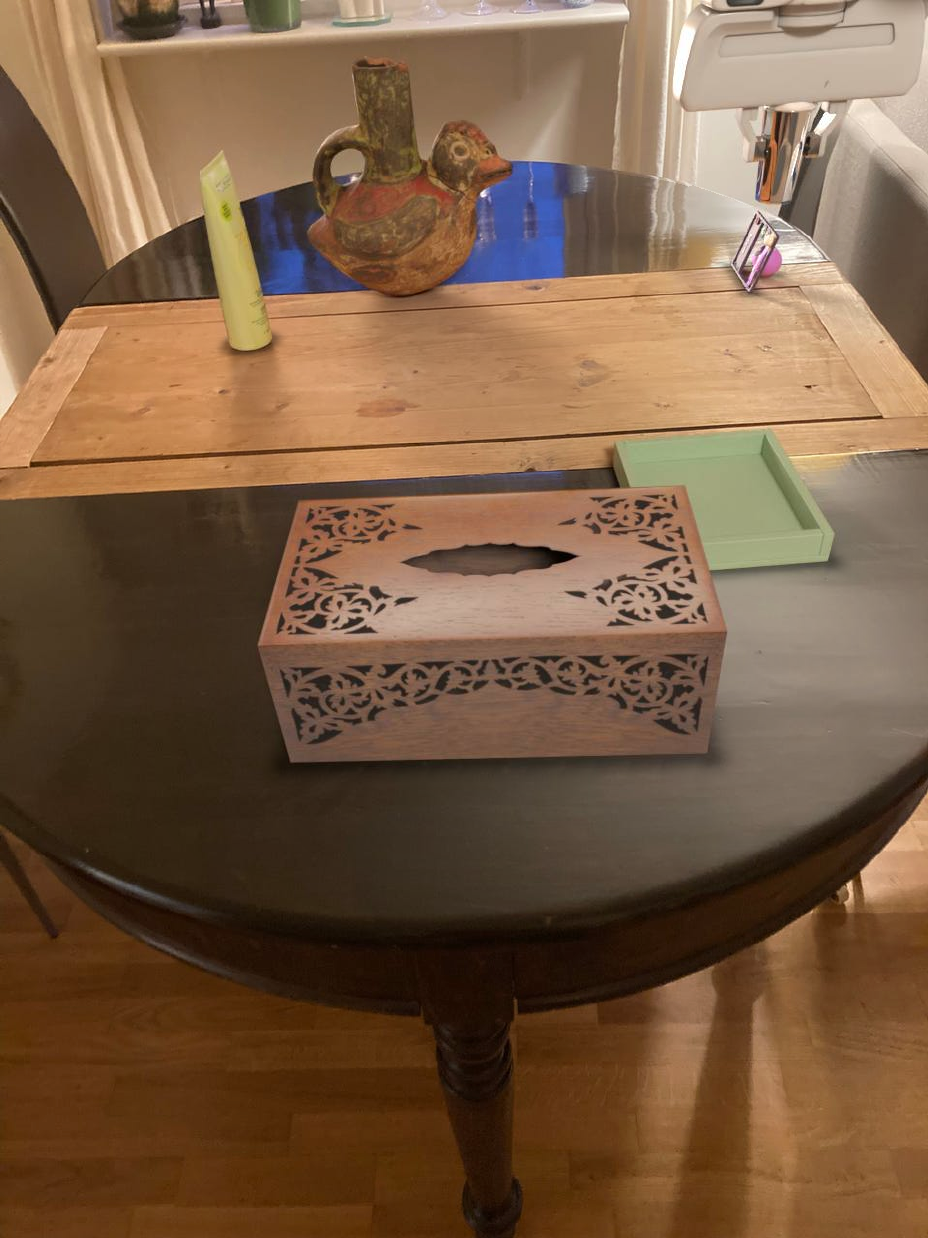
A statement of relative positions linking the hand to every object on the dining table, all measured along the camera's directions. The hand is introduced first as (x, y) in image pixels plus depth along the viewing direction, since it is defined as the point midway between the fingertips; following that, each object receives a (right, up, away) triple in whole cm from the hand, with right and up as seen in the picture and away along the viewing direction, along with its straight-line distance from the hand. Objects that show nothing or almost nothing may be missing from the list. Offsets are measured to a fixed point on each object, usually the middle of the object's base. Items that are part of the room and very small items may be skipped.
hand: (781, 158), depth 83 cm
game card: (+7, 0, +28) cm, 29 cm away
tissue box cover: (-26, -45, -20) cm, 56 cm away
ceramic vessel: (-35, 0, +33) cm, 48 cm away
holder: (-8, -32, -7) cm, 34 cm away
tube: (-53, -10, +23) cm, 59 cm away
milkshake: (0, -3, +3) cm, 4 cm away
